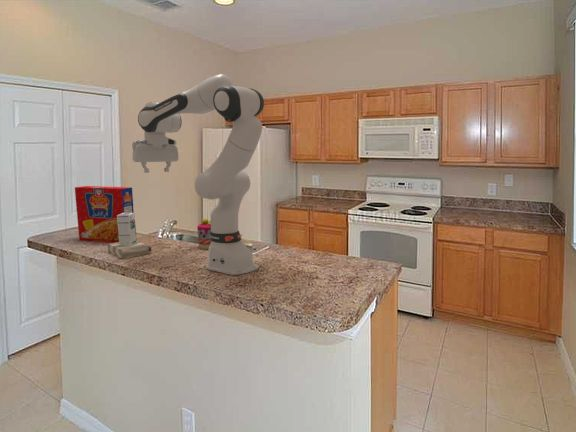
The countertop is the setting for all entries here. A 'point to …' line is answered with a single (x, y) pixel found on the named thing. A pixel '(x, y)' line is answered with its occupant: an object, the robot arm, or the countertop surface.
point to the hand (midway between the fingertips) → (156, 172)
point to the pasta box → (101, 211)
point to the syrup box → (126, 229)
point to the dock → (128, 250)
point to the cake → (204, 234)
